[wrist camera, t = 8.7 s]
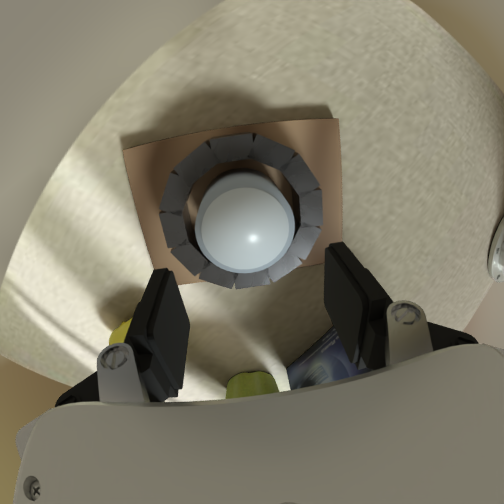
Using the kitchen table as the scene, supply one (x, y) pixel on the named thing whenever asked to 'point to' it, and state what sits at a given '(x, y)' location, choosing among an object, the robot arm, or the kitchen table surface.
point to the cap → (244, 221)
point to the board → (177, 148)
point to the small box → (322, 364)
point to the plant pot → (251, 385)
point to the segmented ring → (235, 149)
